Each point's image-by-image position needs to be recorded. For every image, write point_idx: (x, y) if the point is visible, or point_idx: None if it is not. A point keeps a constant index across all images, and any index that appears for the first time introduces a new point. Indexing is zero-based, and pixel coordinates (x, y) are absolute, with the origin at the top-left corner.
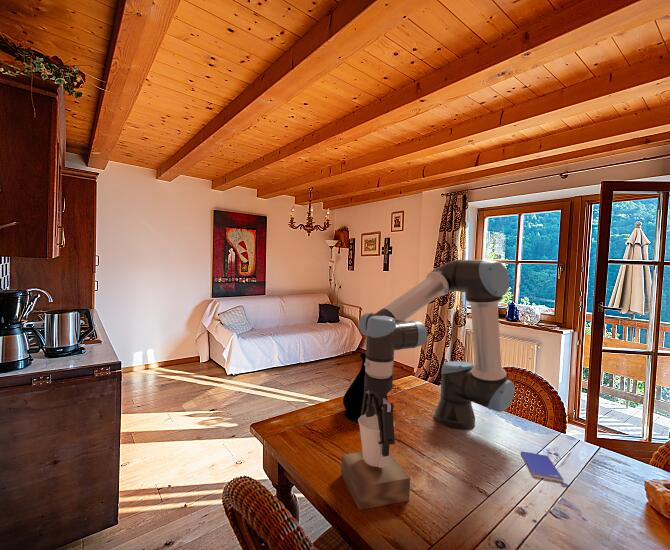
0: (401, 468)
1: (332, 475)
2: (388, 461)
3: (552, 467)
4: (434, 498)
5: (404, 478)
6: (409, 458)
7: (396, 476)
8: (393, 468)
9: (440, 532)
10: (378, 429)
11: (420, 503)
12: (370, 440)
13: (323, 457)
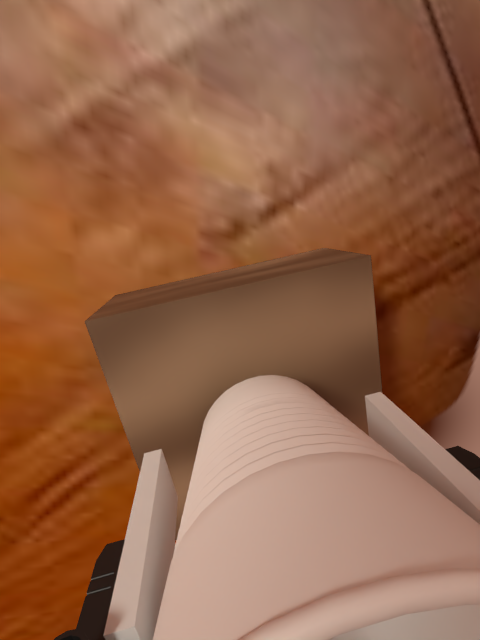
0: (291, 280)
1: None
2: (395, 407)
3: None
4: (324, 129)
5: (371, 287)
6: (9, 136)
7: (351, 323)
8: (286, 323)
9: (477, 185)
10: (183, 535)
11: (344, 206)
12: (427, 629)
13: (60, 529)
